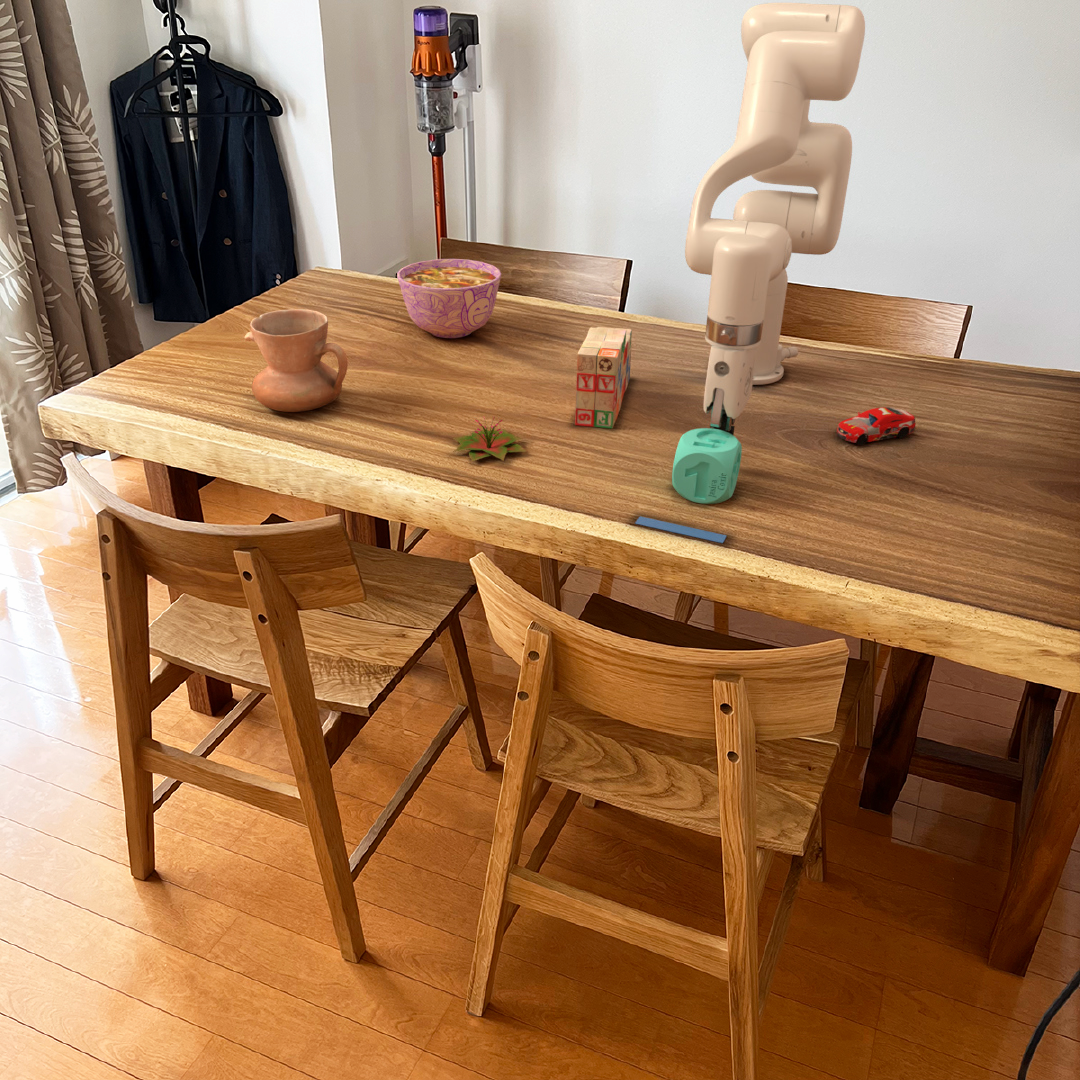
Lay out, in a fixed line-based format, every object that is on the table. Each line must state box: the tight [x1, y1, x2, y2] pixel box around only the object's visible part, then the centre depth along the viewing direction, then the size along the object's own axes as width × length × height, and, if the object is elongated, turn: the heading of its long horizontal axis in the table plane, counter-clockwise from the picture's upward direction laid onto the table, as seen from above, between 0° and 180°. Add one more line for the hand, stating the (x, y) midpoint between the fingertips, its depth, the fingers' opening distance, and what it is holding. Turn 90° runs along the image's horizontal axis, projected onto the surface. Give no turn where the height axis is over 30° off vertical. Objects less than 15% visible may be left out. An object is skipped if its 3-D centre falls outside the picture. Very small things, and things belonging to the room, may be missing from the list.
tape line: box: [634, 516, 727, 544], centre depth 130 cm, size 12×2×1 cm, turn 66°
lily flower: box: [451, 415, 528, 463], centre depth 149 cm, size 12×12×5 cm
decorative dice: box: [671, 427, 743, 505], centre depth 137 cm, size 8×8×8 cm
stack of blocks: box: [574, 326, 633, 429], centre depth 162 cm, size 21×6×12 cm, turn 168°
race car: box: [836, 406, 916, 446], centre depth 154 cm, size 13×5×4 cm, turn 110°
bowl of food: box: [396, 258, 502, 339], centre depth 191 cm, size 20×20×12 cm
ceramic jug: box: [244, 308, 349, 413], centre depth 160 cm, size 18×14×14 cm
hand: (719, 450), depth 143 cm, fingers closed
